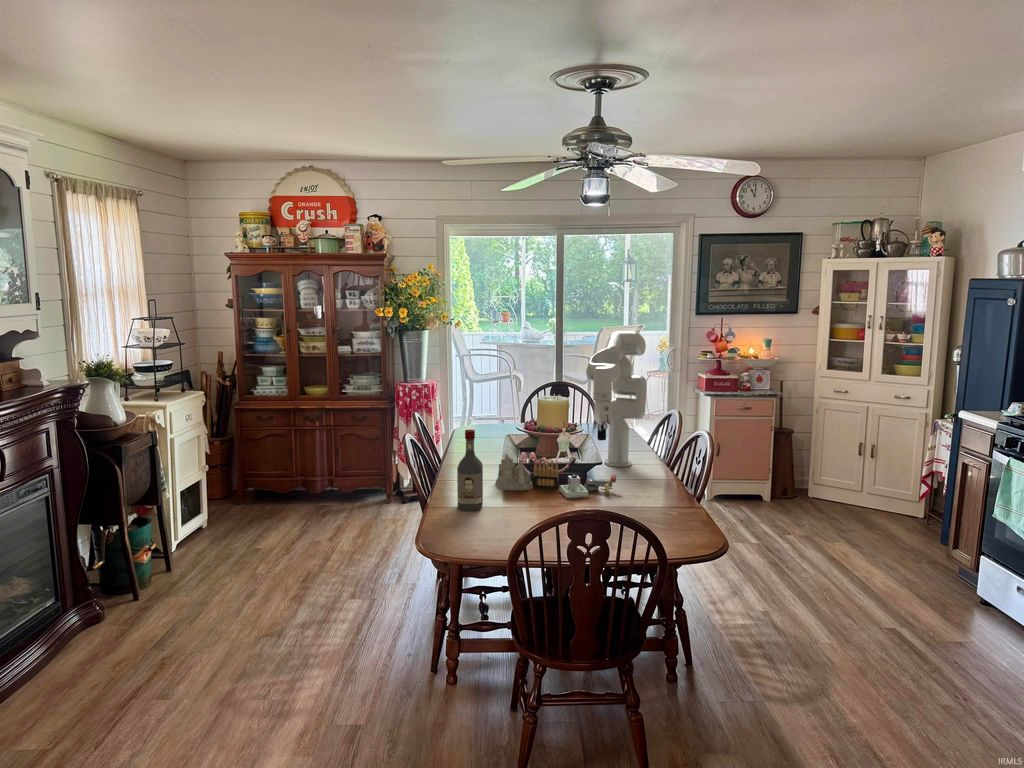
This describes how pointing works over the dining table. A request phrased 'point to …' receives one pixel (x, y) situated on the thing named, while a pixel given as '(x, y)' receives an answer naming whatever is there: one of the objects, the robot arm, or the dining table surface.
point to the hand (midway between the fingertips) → (601, 439)
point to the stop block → (573, 483)
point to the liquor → (470, 477)
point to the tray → (581, 493)
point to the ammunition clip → (546, 476)
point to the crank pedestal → (596, 489)
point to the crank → (601, 482)
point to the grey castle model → (513, 475)
